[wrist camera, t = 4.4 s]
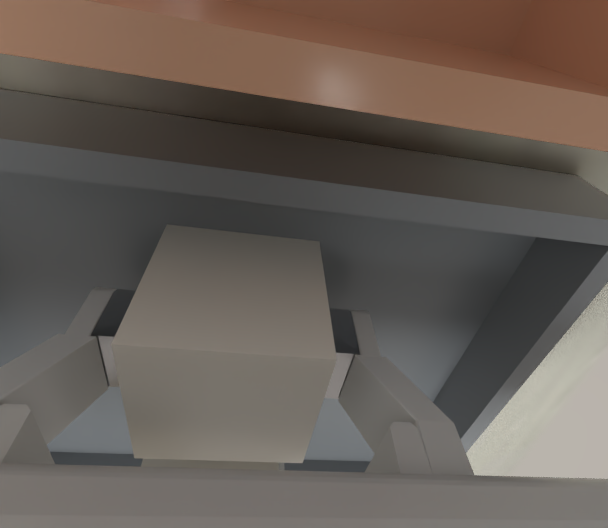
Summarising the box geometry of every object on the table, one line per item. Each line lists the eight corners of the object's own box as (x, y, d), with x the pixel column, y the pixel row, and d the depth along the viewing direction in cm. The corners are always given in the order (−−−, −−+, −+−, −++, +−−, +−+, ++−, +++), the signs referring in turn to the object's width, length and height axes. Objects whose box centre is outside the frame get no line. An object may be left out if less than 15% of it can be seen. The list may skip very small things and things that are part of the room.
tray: (-166, 63, 8) (-329, 94, 6) (577, 175, 10) (654, 226, 8) (29, 444, 17) (-7, 510, 15) (400, 456, 19) (414, 514, 17)
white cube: (167, 224, 10) (110, 344, 7) (319, 241, 10) (336, 359, 7) (173, 331, 12) (134, 457, 9) (297, 340, 13) (302, 463, 9)
